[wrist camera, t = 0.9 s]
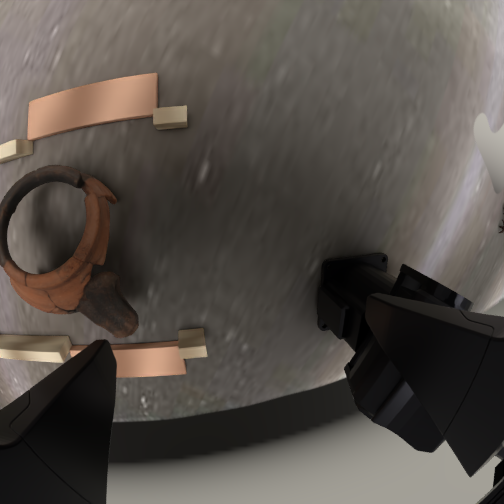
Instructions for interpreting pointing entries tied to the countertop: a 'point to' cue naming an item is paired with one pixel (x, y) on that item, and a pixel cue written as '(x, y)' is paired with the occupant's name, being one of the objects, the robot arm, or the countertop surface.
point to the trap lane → (76, 117)
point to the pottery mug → (72, 258)
